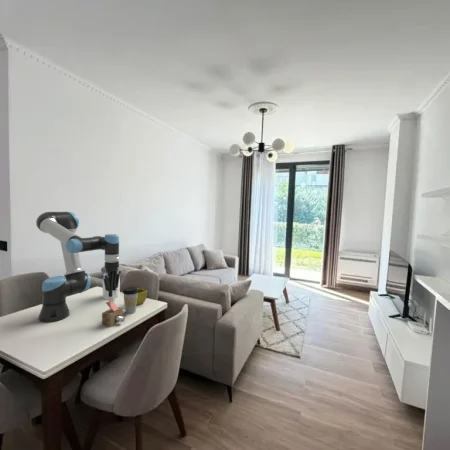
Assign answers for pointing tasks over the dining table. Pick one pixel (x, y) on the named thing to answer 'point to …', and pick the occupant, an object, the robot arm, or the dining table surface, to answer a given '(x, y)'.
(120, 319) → the pin
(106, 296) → the bottle
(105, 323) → the block
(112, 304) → the block
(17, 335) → the dining table surface
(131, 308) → the coffee cup
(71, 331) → the dining table surface
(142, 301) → the flower pot
